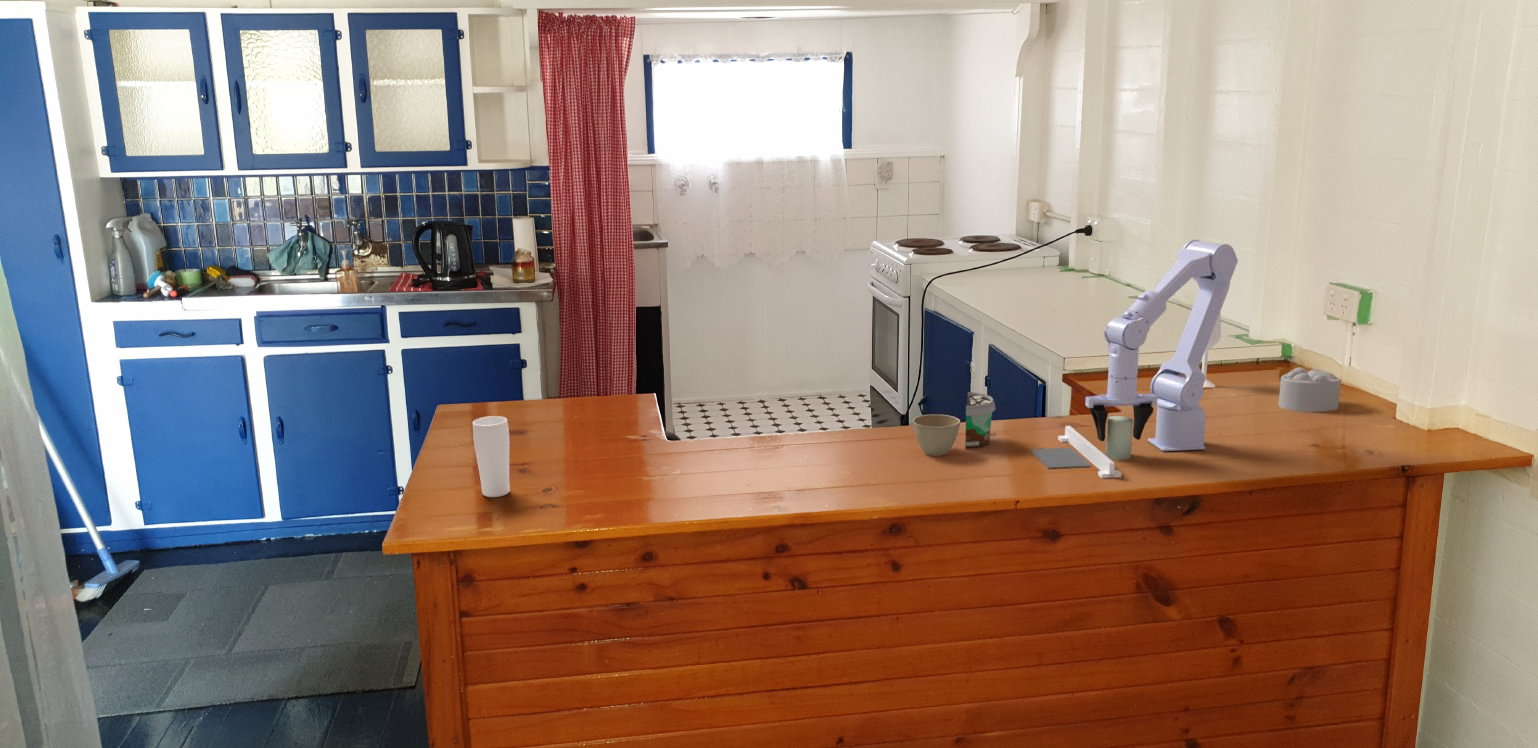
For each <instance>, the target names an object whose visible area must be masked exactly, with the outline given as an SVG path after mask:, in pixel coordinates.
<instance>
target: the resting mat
mask: <svg viewBox="0 0 1538 748" xmlns="http://www.w3.org/2000/svg"><path fill="white" fill-rule="evenodd" d="M1029 450H1030V451H1029V452H1030V453H1032V454H1033V455H1034V456H1035V457H1036V458H1037V459H1038V461H1040V463H1042V464H1043V466H1045V467H1046V468H1047V469H1048V470H1053V469H1072V468H1074V469H1075V468H1092V464H1090V463H1089V462H1088V461H1087V460H1086V459H1085V458H1084V457H1082V456H1081V455H1080V454H1079V453H1078V452H1077V451H1076V450H1075V449H1074V448H1072V447H1059V448H1058V447H1057V448H1056V447H1055V448H1035V449H1032V448H1031V449H1029Z"/></svg>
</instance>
